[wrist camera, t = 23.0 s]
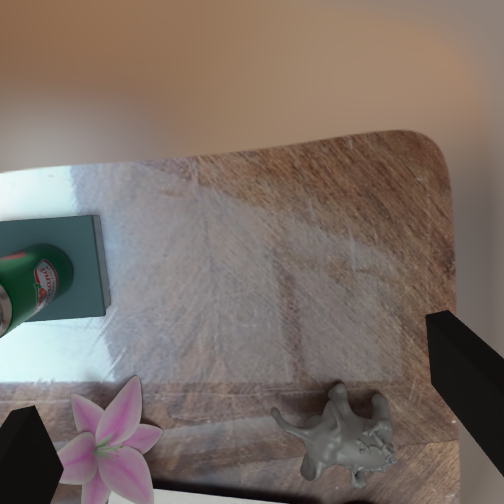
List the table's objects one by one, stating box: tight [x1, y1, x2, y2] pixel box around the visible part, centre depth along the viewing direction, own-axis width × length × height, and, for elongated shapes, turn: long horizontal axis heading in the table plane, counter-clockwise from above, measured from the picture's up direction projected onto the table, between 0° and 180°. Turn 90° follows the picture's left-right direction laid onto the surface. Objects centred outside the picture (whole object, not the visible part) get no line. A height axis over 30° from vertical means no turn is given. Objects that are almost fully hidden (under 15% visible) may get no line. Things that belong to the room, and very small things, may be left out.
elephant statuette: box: [271, 383, 397, 489], centre depth 41 cm, size 9×12×8 cm
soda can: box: [0, 244, 73, 338], centre depth 32 cm, size 5×5×12 cm
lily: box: [57, 376, 164, 504], centre depth 41 cm, size 12×12×10 cm
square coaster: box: [0, 215, 111, 322], centre depth 40 cm, size 9×9×3 cm
